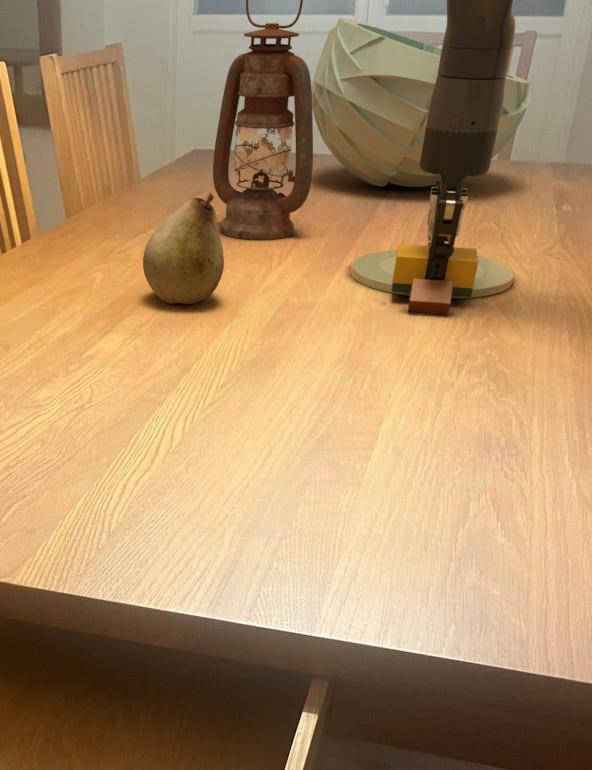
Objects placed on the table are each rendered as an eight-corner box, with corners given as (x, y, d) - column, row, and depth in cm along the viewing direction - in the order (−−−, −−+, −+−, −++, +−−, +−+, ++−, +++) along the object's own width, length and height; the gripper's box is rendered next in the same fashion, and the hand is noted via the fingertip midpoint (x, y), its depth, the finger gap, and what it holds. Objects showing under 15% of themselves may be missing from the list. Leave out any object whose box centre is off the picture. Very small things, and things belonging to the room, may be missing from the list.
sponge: (469, 283, 116) (476, 248, 114) (471, 297, 111) (478, 261, 109) (392, 278, 118) (398, 243, 115) (391, 291, 113) (397, 256, 111)
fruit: (231, 310, 112) (238, 199, 105) (152, 315, 110) (155, 203, 103) (206, 286, 120) (212, 181, 113) (133, 291, 118) (134, 185, 112)
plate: (506, 261, 129) (507, 253, 128) (518, 303, 113) (520, 294, 113) (354, 253, 133) (355, 245, 133) (346, 292, 117) (347, 284, 117)
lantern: (285, 246, 137) (313, -58, 116) (191, 230, 145) (202, -56, 125) (322, 231, 144) (355, -57, 123) (230, 217, 152) (247, -55, 132)
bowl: (455, 195, 189) (512, 72, 176) (485, 239, 161) (555, 96, 147) (287, 140, 187) (331, 11, 174) (287, 174, 159) (340, 23, 146)
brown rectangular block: (450, 291, 111) (453, 280, 109) (447, 314, 110) (450, 303, 108) (410, 288, 112) (412, 278, 110) (407, 311, 111) (409, 301, 109)
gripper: (502, 135, 98) (467, 302, 108) (494, 115, 109) (463, 268, 119) (426, 132, 99) (398, 297, 109) (426, 113, 111) (401, 264, 121)
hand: (432, 282), depth 114 cm, fingers closed on sponge, 6 cm apart
